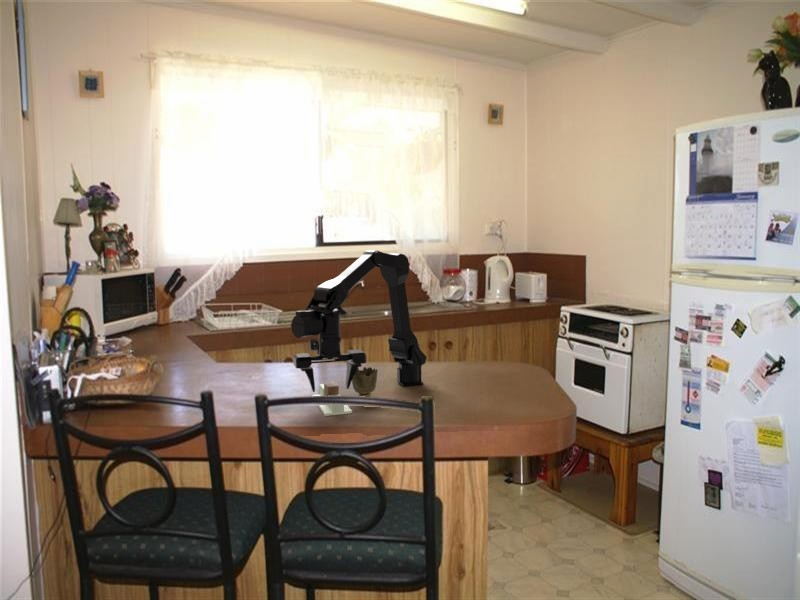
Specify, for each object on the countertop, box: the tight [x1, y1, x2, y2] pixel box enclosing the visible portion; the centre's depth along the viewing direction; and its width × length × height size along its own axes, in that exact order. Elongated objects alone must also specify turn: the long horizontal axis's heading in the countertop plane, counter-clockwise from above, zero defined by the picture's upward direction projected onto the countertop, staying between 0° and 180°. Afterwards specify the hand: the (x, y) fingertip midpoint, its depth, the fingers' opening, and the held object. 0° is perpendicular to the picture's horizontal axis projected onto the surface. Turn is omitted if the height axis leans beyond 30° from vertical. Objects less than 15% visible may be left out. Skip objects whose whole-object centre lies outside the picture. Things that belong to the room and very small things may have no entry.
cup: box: [351, 366, 378, 397], centre depth 175 cm, size 8×7×8 cm
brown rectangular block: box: [323, 381, 340, 396], centre depth 170 cm, size 3×4×5 cm, turn 18°
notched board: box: [312, 383, 353, 417], centre depth 170 cm, size 7×18×4 cm, turn 18°
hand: (330, 390), depth 169 cm, fingers open, 9 cm apart
